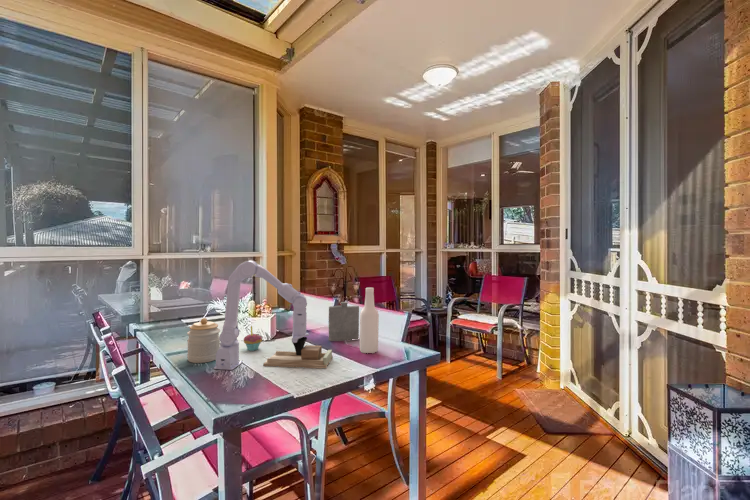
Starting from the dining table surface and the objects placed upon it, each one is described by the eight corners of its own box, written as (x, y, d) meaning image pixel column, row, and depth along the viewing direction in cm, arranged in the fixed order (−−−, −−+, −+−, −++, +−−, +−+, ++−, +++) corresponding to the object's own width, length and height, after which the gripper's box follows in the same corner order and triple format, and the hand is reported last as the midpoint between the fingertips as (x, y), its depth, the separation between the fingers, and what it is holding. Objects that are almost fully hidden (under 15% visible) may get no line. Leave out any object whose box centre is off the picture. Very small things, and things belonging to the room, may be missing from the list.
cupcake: (258, 352, 170) (258, 326, 170) (240, 351, 170) (240, 325, 170) (264, 346, 179) (264, 322, 178) (247, 346, 179) (247, 321, 179)
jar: (207, 364, 152) (207, 322, 152) (180, 362, 155) (180, 320, 154) (226, 355, 165) (226, 316, 164) (200, 353, 167) (200, 314, 167)
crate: (317, 362, 153) (317, 350, 153) (301, 361, 154) (301, 349, 154) (321, 357, 160) (321, 345, 160) (305, 356, 161) (305, 345, 160)
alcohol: (355, 350, 175) (356, 287, 174) (370, 347, 180) (371, 286, 179) (366, 355, 168) (367, 289, 167) (381, 351, 173) (382, 288, 172)
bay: (325, 368, 149) (325, 358, 149) (263, 365, 151) (263, 356, 151) (332, 357, 163) (332, 348, 163) (275, 355, 165) (275, 346, 165)
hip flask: (358, 338, 197) (358, 301, 196) (359, 340, 193) (359, 302, 192) (328, 339, 193) (328, 301, 193) (329, 341, 189) (329, 302, 189)
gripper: (304, 327, 149) (303, 360, 150) (313, 320, 164) (312, 350, 164) (287, 327, 150) (286, 360, 150) (297, 319, 164) (297, 349, 165)
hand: (299, 354), depth 157 cm, fingers closed, pressing on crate
